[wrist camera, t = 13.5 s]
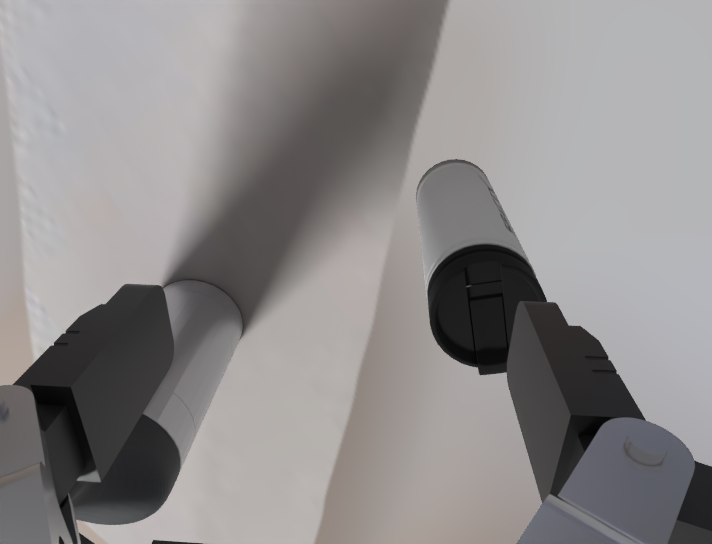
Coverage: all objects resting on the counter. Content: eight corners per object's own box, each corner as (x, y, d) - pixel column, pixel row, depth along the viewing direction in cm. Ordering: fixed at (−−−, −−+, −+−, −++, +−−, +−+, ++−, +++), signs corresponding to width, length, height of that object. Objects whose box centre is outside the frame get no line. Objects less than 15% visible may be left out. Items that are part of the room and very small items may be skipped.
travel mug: (422, 236, 47) (438, 383, 29) (410, 165, 44) (421, 280, 26) (493, 225, 46) (554, 370, 28) (486, 152, 43) (550, 262, 25)
